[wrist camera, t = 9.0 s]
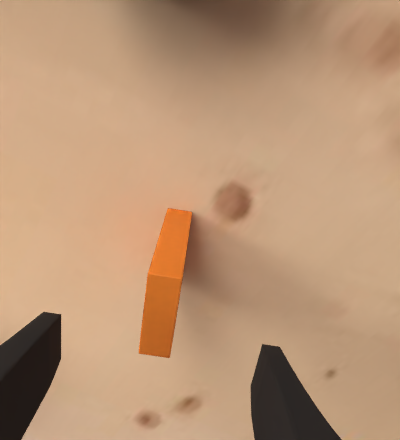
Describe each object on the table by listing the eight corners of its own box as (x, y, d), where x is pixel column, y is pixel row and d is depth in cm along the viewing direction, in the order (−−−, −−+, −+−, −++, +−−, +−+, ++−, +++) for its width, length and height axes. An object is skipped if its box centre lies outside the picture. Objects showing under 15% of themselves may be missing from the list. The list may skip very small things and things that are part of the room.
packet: (192, 211, 22) (182, 278, 15) (182, 274, 23) (169, 358, 17) (167, 207, 22) (147, 273, 15) (159, 271, 23) (138, 353, 17)
